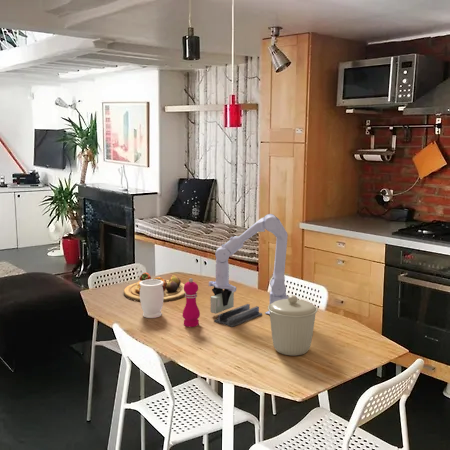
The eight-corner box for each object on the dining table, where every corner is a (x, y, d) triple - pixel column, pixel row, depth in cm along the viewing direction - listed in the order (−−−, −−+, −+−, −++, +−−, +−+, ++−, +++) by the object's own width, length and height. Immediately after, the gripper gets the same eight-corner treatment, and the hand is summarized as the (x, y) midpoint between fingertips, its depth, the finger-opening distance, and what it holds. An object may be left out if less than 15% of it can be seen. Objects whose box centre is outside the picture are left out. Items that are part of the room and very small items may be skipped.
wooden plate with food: (119, 287, 289) (119, 271, 287) (180, 281, 298) (180, 266, 297) (128, 307, 259) (127, 290, 257) (195, 300, 268) (195, 283, 267)
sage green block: (228, 305, 253) (228, 290, 252) (234, 307, 251) (234, 292, 249) (210, 312, 244) (210, 296, 243) (216, 313, 242) (216, 298, 240)
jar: (162, 319, 240) (161, 285, 237) (138, 319, 240) (137, 285, 237) (165, 311, 250) (164, 278, 248) (142, 311, 251) (141, 278, 248)
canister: (284, 337, 220) (285, 285, 216) (325, 349, 209) (327, 294, 205) (257, 351, 206) (258, 296, 202) (299, 364, 195) (301, 306, 191)
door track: (244, 309, 252) (244, 302, 252) (262, 314, 246) (262, 307, 245) (214, 321, 237) (214, 314, 237) (232, 327, 231) (232, 319, 230)
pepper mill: (197, 328, 230) (197, 281, 226) (180, 326, 231) (179, 280, 228) (201, 322, 237) (201, 276, 233) (185, 320, 238) (184, 275, 235)
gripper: (203, 273, 246) (204, 303, 249) (228, 279, 237) (228, 310, 239) (214, 270, 252) (214, 299, 254) (239, 276, 242) (239, 306, 245)
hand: (222, 304), depth 247 cm, fingers closed on sage green block, 3 cm apart
